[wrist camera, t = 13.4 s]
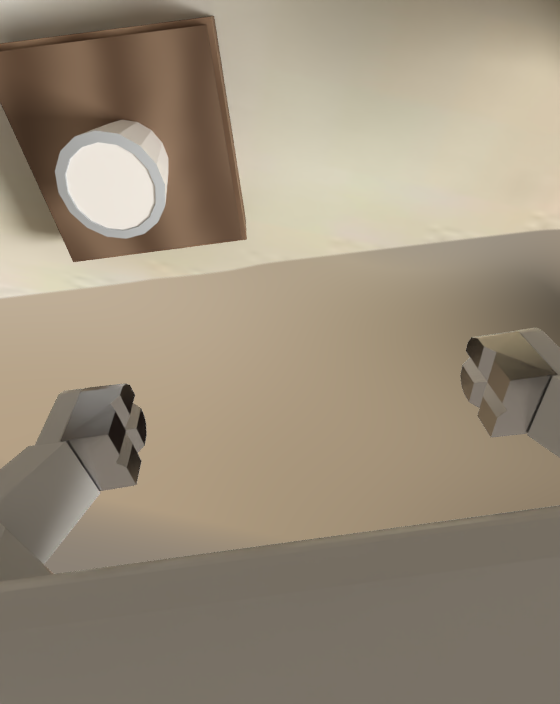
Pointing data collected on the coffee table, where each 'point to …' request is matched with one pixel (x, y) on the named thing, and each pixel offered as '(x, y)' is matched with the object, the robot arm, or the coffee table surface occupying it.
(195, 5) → the coffee table surface
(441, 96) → the coffee table surface
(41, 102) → the walnut box
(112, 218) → the white cylinder
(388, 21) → the coffee table surface
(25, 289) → the coffee table surface
